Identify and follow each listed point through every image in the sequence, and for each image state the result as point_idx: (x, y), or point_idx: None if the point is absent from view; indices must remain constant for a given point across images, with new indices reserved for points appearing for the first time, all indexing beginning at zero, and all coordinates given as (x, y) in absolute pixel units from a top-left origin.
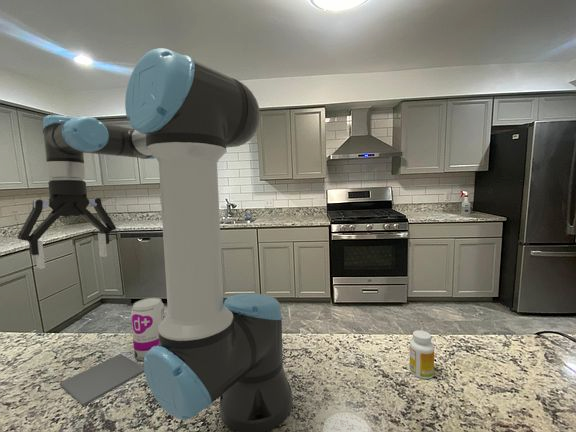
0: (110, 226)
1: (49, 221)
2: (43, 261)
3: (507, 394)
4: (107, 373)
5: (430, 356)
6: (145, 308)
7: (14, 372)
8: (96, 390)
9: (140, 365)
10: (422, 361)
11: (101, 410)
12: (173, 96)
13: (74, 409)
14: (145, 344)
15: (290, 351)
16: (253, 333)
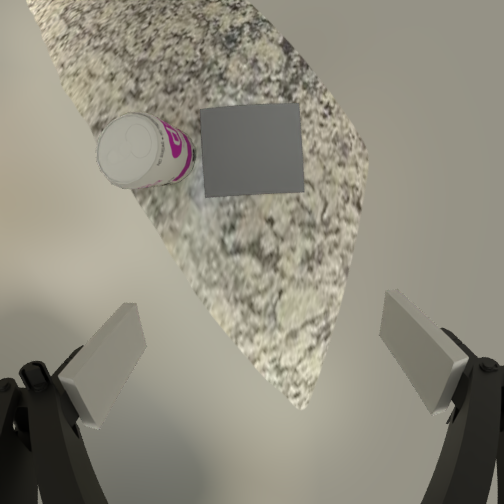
0: (9, 398)
1: (478, 483)
2: (402, 303)
3: None
4: (246, 149)
5: None
6: (145, 117)
7: (332, 295)
8: (275, 117)
9: (201, 126)
10: None
11: (284, 75)
12: None
13: (307, 108)
14: (178, 130)
15: (71, 19)
16: None
